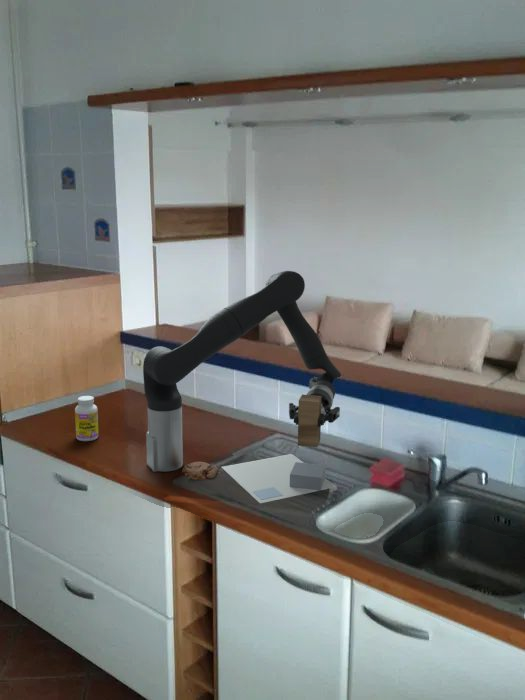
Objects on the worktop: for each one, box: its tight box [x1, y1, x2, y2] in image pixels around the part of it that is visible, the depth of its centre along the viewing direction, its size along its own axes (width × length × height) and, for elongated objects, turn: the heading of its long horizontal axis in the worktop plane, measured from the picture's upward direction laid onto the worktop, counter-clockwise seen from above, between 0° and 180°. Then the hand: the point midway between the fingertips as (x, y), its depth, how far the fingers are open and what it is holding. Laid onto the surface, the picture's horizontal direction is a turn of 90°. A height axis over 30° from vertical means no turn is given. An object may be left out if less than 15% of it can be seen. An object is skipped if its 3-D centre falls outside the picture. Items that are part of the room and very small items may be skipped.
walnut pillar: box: [297, 394, 322, 448], centre depth 171 cm, size 5×5×12 cm
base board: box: [221, 453, 338, 508], centre depth 178 cm, size 22×24×4 cm
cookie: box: [181, 461, 219, 481], centre depth 181 cm, size 10×11×3 cm
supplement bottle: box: [74, 395, 99, 442], centre depth 205 cm, size 7×7×13 cm
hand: (308, 422), depth 168 cm, fingers closed on walnut pillar, 5 cm apart
